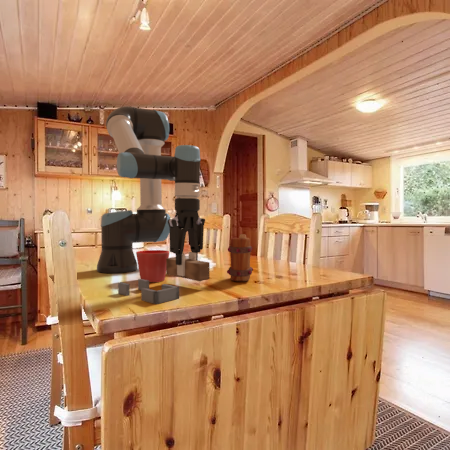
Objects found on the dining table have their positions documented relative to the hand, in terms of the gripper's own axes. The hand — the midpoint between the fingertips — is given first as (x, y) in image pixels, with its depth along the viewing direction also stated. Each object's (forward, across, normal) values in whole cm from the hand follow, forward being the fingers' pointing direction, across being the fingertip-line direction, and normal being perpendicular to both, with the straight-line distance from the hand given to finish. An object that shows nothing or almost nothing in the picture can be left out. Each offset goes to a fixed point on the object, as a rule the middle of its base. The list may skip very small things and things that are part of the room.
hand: (186, 274), depth 103 cm
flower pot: (+4, -1, +15) cm, 16 cm away
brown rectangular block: (+1, 0, 0) cm, 1 cm away
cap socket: (+3, -15, -7) cm, 17 cm away
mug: (+4, +20, -6) cm, 21 cm away
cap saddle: (+4, -15, +5) cm, 17 cm away
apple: (+5, +15, +17) cm, 23 cm away
